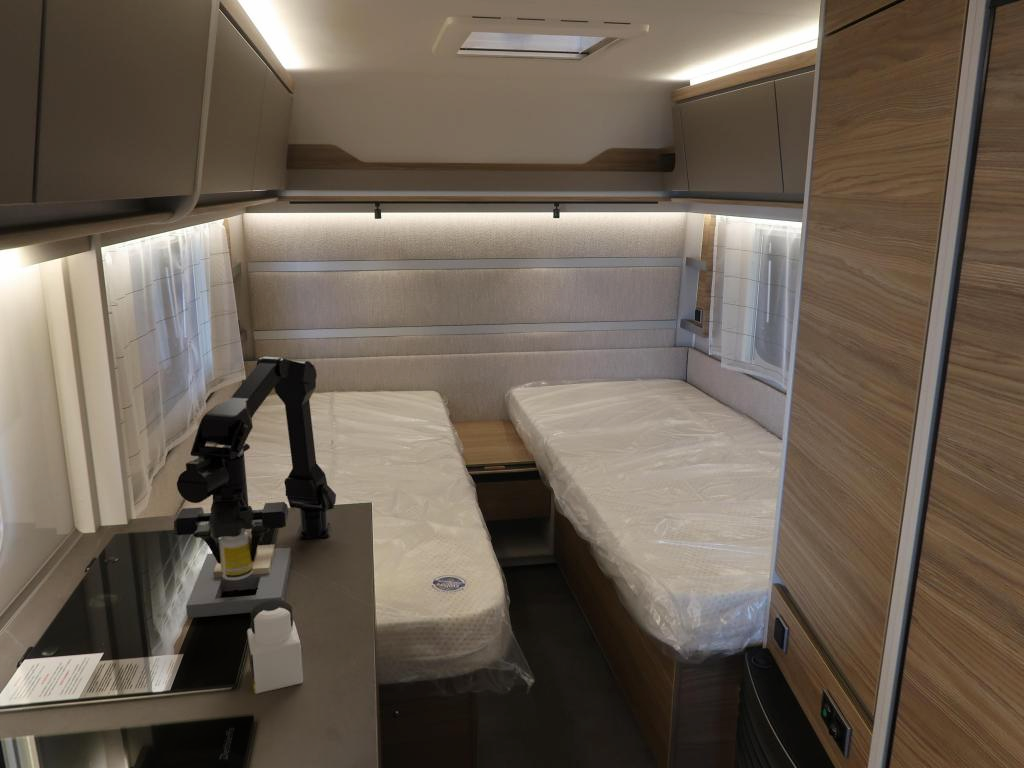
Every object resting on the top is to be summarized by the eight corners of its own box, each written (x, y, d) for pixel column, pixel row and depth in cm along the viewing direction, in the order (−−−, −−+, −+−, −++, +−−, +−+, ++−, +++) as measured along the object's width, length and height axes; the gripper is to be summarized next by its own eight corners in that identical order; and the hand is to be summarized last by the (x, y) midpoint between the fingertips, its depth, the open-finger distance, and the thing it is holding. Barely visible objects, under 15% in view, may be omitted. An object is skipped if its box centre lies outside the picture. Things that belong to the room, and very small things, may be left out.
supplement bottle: (259, 572, 142) (255, 523, 140) (233, 584, 138) (228, 533, 135) (241, 564, 145) (237, 515, 143) (215, 575, 141) (210, 525, 139)
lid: (222, 553, 155) (220, 524, 153) (274, 549, 157) (272, 521, 155) (213, 577, 145) (211, 547, 144) (269, 573, 147) (267, 543, 146)
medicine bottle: (250, 668, 122) (244, 600, 119) (296, 658, 125) (291, 591, 122) (254, 695, 116) (248, 623, 113) (303, 683, 119) (298, 613, 116)
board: (208, 565, 155) (207, 553, 155) (291, 558, 158) (290, 547, 158) (187, 618, 136) (186, 605, 136) (281, 609, 139) (280, 597, 139)
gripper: (161, 502, 128) (171, 588, 132) (279, 494, 131) (285, 578, 135) (177, 477, 138) (185, 557, 142) (285, 471, 142) (291, 549, 146)
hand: (236, 561), depth 141 cm, fingers closed on supplement bottle, 5 cm apart
